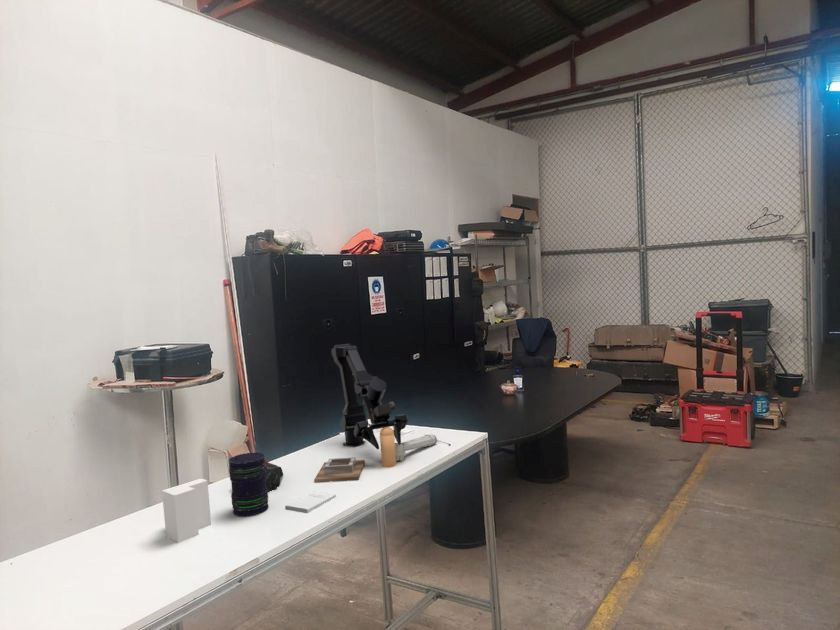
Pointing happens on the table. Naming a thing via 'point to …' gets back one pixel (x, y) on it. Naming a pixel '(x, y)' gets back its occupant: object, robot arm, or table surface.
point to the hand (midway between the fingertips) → (389, 446)
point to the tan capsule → (387, 447)
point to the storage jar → (248, 484)
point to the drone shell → (273, 476)
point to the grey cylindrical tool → (413, 445)
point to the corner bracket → (186, 509)
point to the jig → (340, 470)
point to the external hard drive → (310, 501)
